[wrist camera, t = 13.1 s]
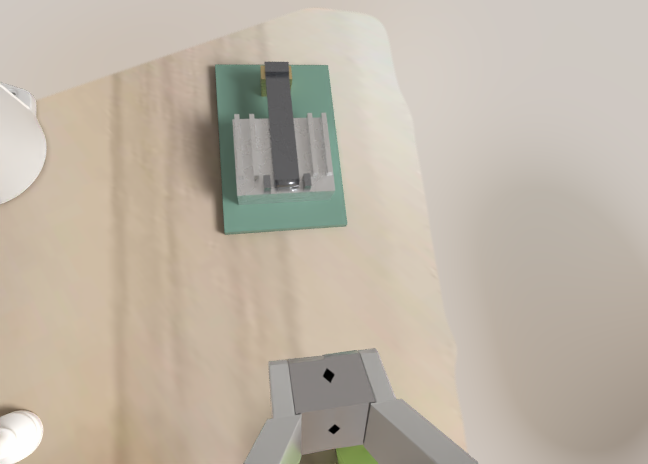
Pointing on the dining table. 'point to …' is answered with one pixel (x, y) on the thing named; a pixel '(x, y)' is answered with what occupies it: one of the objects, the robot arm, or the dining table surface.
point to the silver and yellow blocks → (258, 164)
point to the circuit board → (245, 98)
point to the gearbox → (354, 455)
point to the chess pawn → (19, 435)
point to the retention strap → (281, 125)
